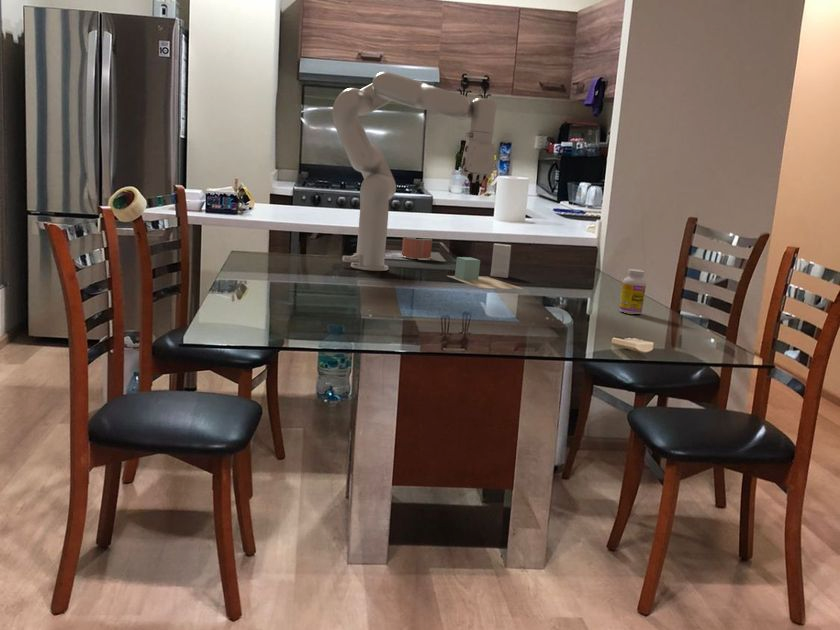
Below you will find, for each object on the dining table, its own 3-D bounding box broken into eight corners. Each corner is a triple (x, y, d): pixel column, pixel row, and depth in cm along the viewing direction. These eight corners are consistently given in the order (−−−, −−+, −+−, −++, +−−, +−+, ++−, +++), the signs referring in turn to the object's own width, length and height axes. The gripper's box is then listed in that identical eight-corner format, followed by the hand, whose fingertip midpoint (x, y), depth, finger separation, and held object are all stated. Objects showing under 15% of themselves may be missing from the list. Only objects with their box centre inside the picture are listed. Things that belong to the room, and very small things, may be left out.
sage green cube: (463, 280, 284) (465, 259, 283) (454, 277, 289) (456, 257, 288) (478, 280, 287) (480, 260, 285) (469, 277, 291) (471, 257, 290)
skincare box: (507, 279, 304) (511, 245, 302) (507, 281, 300) (511, 246, 297) (490, 277, 304) (493, 243, 302) (489, 279, 300) (493, 244, 298)
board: (480, 292, 271) (480, 288, 271) (445, 279, 290) (445, 275, 290) (523, 292, 278) (523, 288, 278) (486, 280, 297) (487, 276, 297)
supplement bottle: (628, 315, 255) (635, 271, 253) (613, 310, 261) (619, 268, 258) (646, 315, 258) (652, 272, 256) (631, 310, 264) (637, 268, 262)
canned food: (412, 255, 344) (415, 224, 342) (436, 259, 338) (439, 228, 336) (395, 256, 335) (398, 225, 333) (419, 261, 329) (422, 229, 327)
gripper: (466, 136, 277) (459, 194, 280) (506, 140, 284) (499, 197, 287) (454, 134, 283) (448, 192, 287) (494, 139, 290) (487, 195, 294)
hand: (473, 194), depth 287 cm, fingers closed
